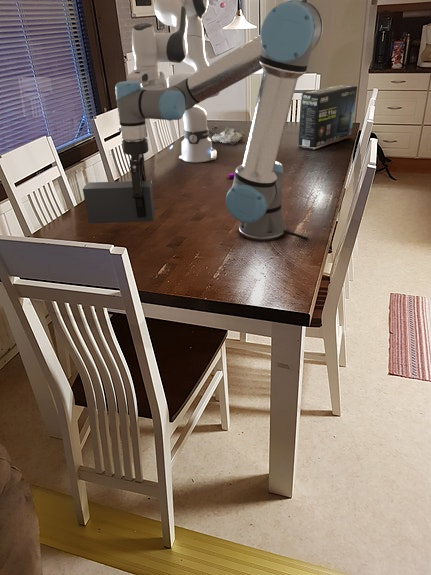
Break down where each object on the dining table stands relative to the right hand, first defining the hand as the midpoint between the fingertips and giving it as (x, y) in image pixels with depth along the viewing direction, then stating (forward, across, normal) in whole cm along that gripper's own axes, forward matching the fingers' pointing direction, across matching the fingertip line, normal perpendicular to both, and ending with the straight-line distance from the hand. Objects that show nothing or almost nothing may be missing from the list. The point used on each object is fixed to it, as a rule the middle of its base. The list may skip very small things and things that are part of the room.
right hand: (143, 212), depth 147 cm
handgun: (+8, -50, +35) cm, 62 cm away
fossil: (+8, -122, +32) cm, 127 cm away
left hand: (-21, -48, 0) cm, 53 cm away
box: (+2, 0, -7) cm, 7 cm away
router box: (+8, -110, +84) cm, 138 cm away
